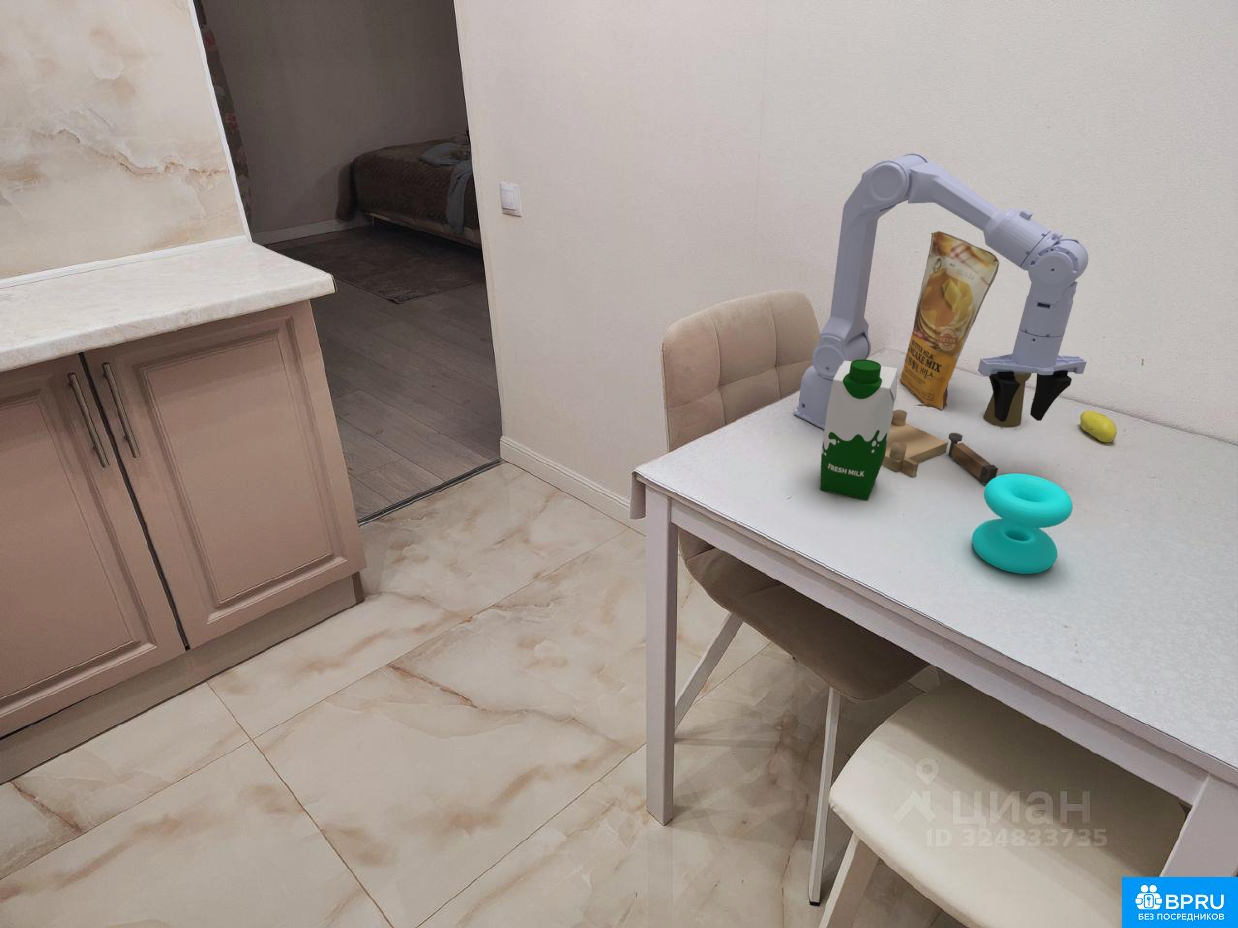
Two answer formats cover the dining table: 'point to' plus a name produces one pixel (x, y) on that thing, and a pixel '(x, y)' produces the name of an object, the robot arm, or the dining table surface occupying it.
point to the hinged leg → (974, 462)
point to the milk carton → (857, 427)
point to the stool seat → (912, 445)
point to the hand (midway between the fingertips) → (1017, 418)
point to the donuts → (1021, 523)
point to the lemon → (1098, 425)
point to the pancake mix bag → (945, 314)
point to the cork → (1015, 406)
